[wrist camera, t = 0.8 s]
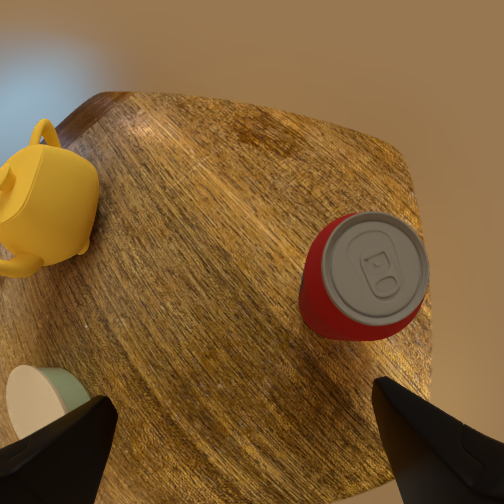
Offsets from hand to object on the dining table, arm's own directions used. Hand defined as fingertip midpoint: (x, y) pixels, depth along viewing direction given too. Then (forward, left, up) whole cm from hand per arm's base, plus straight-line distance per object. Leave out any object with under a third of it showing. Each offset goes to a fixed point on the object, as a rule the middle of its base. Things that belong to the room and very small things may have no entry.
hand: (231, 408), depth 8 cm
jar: (-14, +20, -15) cm, 29 cm away
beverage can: (+7, -4, -15) cm, 17 cm away
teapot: (+7, +27, -15) cm, 32 cm away
